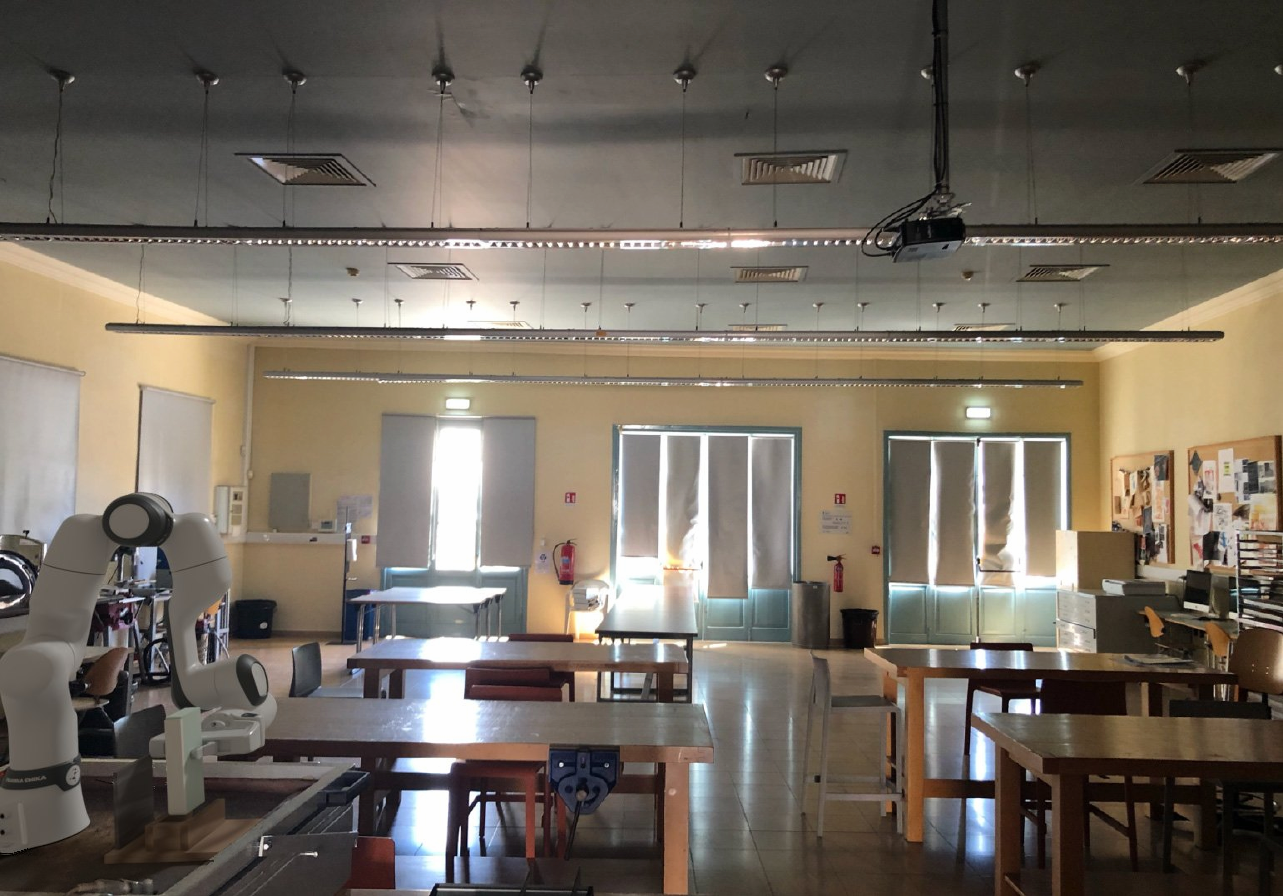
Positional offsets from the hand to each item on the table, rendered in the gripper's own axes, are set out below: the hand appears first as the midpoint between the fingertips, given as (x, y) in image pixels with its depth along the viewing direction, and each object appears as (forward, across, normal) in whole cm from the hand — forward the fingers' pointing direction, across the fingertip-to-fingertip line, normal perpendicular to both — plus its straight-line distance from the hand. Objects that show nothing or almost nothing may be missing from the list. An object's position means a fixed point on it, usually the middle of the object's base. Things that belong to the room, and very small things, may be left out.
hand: (182, 755), depth 153 cm
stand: (-1, 0, +17) cm, 17 cm away
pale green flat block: (-1, 0, +10) cm, 10 cm away
